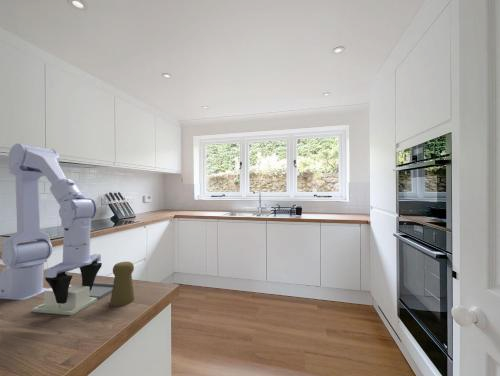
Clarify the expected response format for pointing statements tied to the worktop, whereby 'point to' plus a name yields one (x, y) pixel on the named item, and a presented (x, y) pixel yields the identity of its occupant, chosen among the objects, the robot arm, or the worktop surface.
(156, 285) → the worktop surface
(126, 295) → the cork
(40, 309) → the tray
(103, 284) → the tray
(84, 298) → the stone block
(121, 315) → the worktop surface
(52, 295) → the stone block
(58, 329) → the worktop surface
